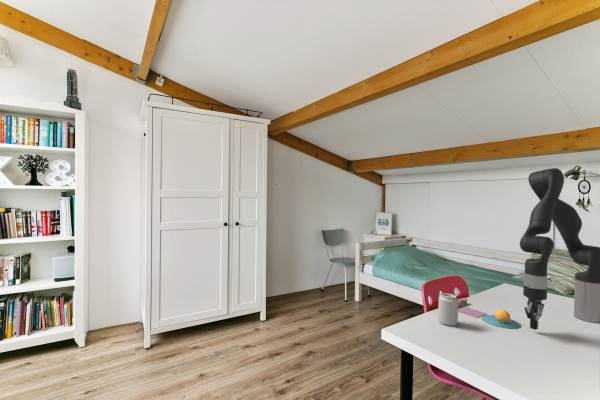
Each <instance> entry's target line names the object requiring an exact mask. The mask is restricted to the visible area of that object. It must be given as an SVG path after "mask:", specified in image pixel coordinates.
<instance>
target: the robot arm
mask: <svg viewBox="0 0 600 400" xmlns="http://www.w3.org/2000/svg"><path fill="white" fill-rule="evenodd" d="M528 184H529V186H530V188H531V190H532V191H533V193H535V195H536V196H537V198H538V199H539V202H538V203H537V204H536V205H535V206H534V208H533V209H532V211H531V213H530V216H529V217H530V218H529V223H528V226H527V228H526V231H525V232H524V234H523V235H522V236H521V239H520V241H519V247H520V249H521V250H522V251H523V252H525V253H531V254H537V255H538V254H539V255H540V257H537V258H527V259H526V260H525V261H524V276H523V286H522V287H523V289H522V290H523V291H522V292H523V293H522V294H523V296H524V297H525V298H528V299H527V301H526V306H527V307H526V306H525V307H524V311H525V315H526V317H527V319H529V328H530V329H531V330H535V331H537V330H538V329H539V320H540V318H541V317H542V315H543V310H544V307H545V303H543V301H546V300H548V264H549V260H550V257H551V254H552V252H553V250H554V247H555V242H554V241H553V239H552V238H551V237H549V236H544V235H545V234H549V232H550V231H551V227H552V222H553V224H554V226H555V227H556V229H557V230H558V232H559V235H560V236H561V238H562V240H563V242H564V244H565V247H566V249H567V251H568V254H569V255H570V258H571V260H572V261H573V262H575V263H576V264H578V265H581V266H587V269H586V271H579V272H576V273H575V274H574V297H573V298H574V300H573V301H574V303H573V317H575V318H577V319H579V320H581V321H586V322H590V323H600V246H596V245H587V244H584V243H583V242H582V240H581V239H580V237H579V234H580V232H581V229H582V227H583V221H582V219H581V217H580V215H579V213H578V211H577V210H576V209H575V207H573V206H572V205H571V204H570V203H569V204H568V202H565V201H564V200H562V199H560V195H561V193H562V190H563V187H564V184H565V176H564V173H563V172H562V170H560V169H559V168H558V167H557V168H556V167H554V168H553V167H552V168H547V169H542V170H537V171H533V172H531V173H530V174H529V175H528ZM540 235H543V236H540Z"/></svg>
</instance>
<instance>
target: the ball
mask: <svg viewBox="0 0 600 400" xmlns="http://www.w3.org/2000/svg"><path fill="white" fill-rule="evenodd" d="M494 315H495V317H496V319H497V320H498V321H499V322H502V323H507V322H509V321H510V319H511V314H510V313H509V312H508V311H507V310H506V309H503V308H500V309H497V310H496V311H495V313H494Z"/></svg>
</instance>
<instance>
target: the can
mask: <svg viewBox="0 0 600 400" xmlns="http://www.w3.org/2000/svg"><path fill="white" fill-rule="evenodd" d="M458 299H459V298H457V296H456V295H455V294H453V293H448V292H443V293H440V295H439V296H438V309H437V310H438V311H437V313H438V314H437V315H438V316H437V320H438V322H439V323H440V324H442V325H443V326H447V327H455V326H456V325H458V323H459V312H458V310H459V307H458Z"/></svg>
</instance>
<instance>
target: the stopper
mask: <svg viewBox="0 0 600 400" xmlns="http://www.w3.org/2000/svg"><path fill="white" fill-rule="evenodd" d="M457 299H458V308H459V307H463V306H466V305H467V304H468V299H467V298H465V297H461V298H457Z"/></svg>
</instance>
